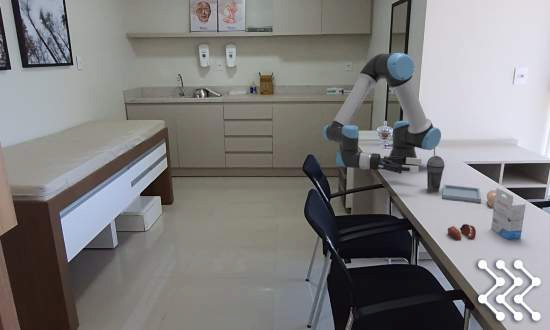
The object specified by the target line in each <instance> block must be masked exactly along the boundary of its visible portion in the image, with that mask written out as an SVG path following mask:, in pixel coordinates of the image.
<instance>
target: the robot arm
mask: <svg viewBox="0 0 550 330" xmlns="http://www.w3.org/2000/svg"><path fill="white" fill-rule="evenodd" d="M414 68H415V64H414V60H413V59H412V57H411V56H409V55H408V54H406V53H402V52H396V53H379V54H376V55H374V56H373V57H371V58H370V59H369V60H368V61H367V62H366V64H365V65H364V66H363V67H362V69H361V70H360V72H359V74H358V79H357V81H356V83H355V84H354V86H353V88H352V89H351V91H350V92H349V94H348V95H347V98H346V99H345V101H344V103H342V105H341V107H340V109H339V110H338V112H337V114H336V116H335V117H334V119H333V121H332V122H331V124H327V125H326V126H324V128H323V129H322V135H323V137H324V139H325V140H328V141H329V142H333V143H337V144H339V145H341V150H338V151H337V152H336V157H335V162H336V165H337V166H338V167H342V168H347V169H348V168H349V169H351V168H353V169H362V171H365V170H372V171H379V170H385V171H388V172H393V173H395V174H396V173H397V174H402V173H403V172H404V173H413V174H418V173H419V168H420V167H419V166H421V165H422V162H423V161H422V158H419V157H417V153H416V149H415V148H418V149H420V150H427V151H433V150H434V146H435V148H437V146H438V145H439V144H440V142H441V138H442V132H441V129H440V128H438V127H434V125H433V122H432V121H431V119H429V118H427V116H426V114H425V112H424V109H423V107H422V105H421V102H420V99H419V97H418V94H417V92H416V90H415V87H414V85H413V82H412V79H413V74H414ZM380 80H385V82H386V83H387V85H388V87H389V88H391V89H393V91H394V92H395V93H394V94H395V95H396V98H397V99H398V102H399V104H400V107H401V109H402V112H403V114H404V117H405V119H406V120H400V121H399V120H398V121H395V122H394V124H393V129H392V149H391V150H390V153H389V156H387V155H386V156H383V157H381V154H380V153H374V152H373V153H371V152H361V151H359V136H360V133H359V132H360V131H359V130H360V129H359V127H358V126H357V125H355V124H354V125H352V124H351V122H352V120H353V118H354V117H355V115H356V113H357V112H358V110H359V109H360V107H361V105H362V104H363V103H364V100H365V99H366V97H367V95H368V94H369V93H370V90H371V89H372V88H373V86H376V85H377V83H378V82H379V81H380Z"/></svg>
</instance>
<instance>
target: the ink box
mask: <svg viewBox="0 0 550 330" xmlns="http://www.w3.org/2000/svg"><path fill="white" fill-rule="evenodd" d="M526 204H527V203H526ZM526 204H525V203H523V202H522V201H520V200H517V199H515V198H514V195H512V194H510V193H509V192H507V191H504V190H503V189H500V188H499V187H497V188H496V197H495V202H494V208H493V212H492V219H491V227H490V228H491V230H492V231H494V232H496V233H497V234H498V235H500V236H501V237H503V238H504V239H506V240H513V239H521V236H522V231H523V230H522V229H523V225H524V219H525V212H526V211H525V210H526Z"/></svg>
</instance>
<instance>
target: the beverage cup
mask: <svg viewBox="0 0 550 330" xmlns="http://www.w3.org/2000/svg"><path fill="white" fill-rule="evenodd" d="M444 170H445V161H444V159H443V158H442V157H440V156H438V155H436V147H435V146H434V149H433V156H431V157H429V158H428V160H427V161H426V171H427V172H426V173H427V175H426V176H427V178H426V179H427V180H426V181H427V184H426V185H427V192H430V193H433V194H434V193H435V194H437V193H439V190H440V188H441V181H442V177H443V172H444Z"/></svg>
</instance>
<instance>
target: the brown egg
mask: <svg viewBox="0 0 550 330" xmlns="http://www.w3.org/2000/svg"><path fill="white" fill-rule="evenodd" d="M495 197H496V190H495V189H494V190H493V189H491V190H490V191H488V192H487V193H486V201H487V204H488V206H489V207H490V208H492V209H494V202H495Z"/></svg>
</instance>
